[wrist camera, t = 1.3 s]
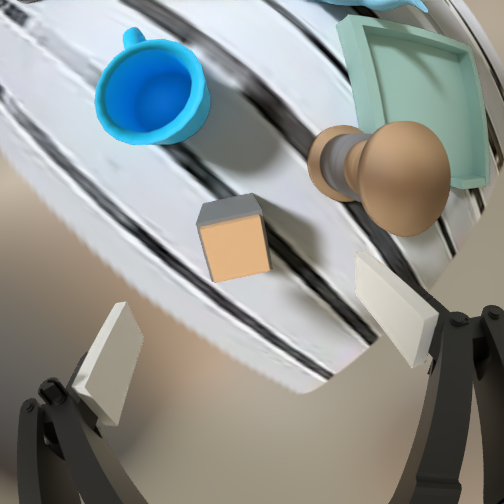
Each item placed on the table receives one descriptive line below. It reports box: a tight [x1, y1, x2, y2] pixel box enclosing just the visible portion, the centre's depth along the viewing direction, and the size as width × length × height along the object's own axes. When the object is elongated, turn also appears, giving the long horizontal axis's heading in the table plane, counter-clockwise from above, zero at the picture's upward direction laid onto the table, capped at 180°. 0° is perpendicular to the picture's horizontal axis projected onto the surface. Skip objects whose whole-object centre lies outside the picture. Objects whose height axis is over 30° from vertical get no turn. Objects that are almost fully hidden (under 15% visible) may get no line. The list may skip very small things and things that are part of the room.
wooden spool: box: [307, 121, 451, 237], centre depth 21 cm, size 8×8×12 cm
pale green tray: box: [336, 14, 490, 190], centre depth 22 cm, size 20×20×4 cm
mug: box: [95, 27, 211, 145], centre depth 18 cm, size 12×8×8 cm
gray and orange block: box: [196, 193, 272, 283], centre depth 24 cm, size 5×5×8 cm
